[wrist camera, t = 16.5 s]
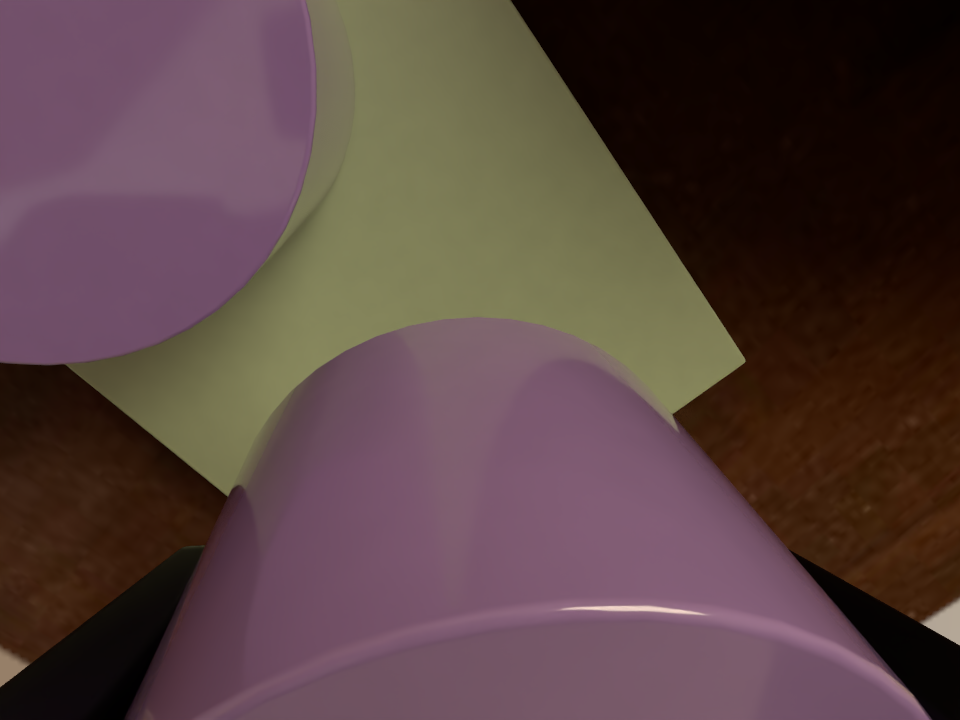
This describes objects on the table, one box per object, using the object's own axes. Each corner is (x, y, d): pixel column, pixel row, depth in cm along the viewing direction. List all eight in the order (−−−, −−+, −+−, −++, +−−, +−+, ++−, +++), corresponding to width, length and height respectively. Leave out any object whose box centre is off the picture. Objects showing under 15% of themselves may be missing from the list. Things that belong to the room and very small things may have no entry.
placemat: (-216, 109, 10) (-253, 109, 9) (239, -398, 8) (226, -437, 7) (381, 603, 15) (380, 622, 14) (733, 351, 13) (747, 362, 13)
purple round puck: (1, 265, 10) (-272, 370, 6) (-118, -184, 8) (-681, -494, 4) (363, 267, 11) (334, 363, 7) (346, -147, 9) (288, -378, 5)
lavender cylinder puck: (260, 704, 9) (133, 1216, 5) (204, 315, 7) (-123, 648, 3) (653, 676, 10) (838, 1105, 5) (723, 313, 7) (1127, 577, 3)
